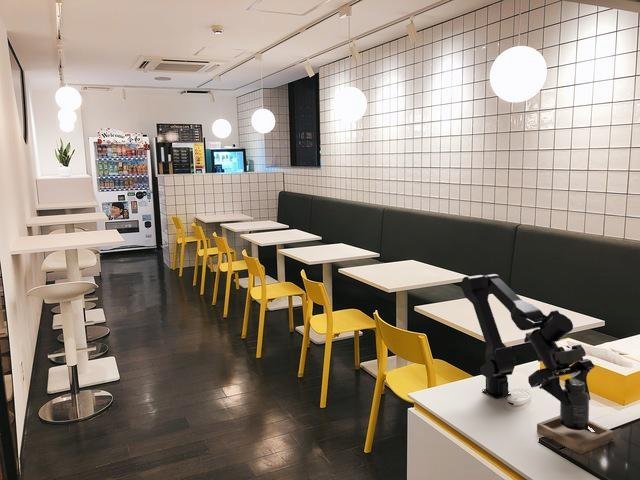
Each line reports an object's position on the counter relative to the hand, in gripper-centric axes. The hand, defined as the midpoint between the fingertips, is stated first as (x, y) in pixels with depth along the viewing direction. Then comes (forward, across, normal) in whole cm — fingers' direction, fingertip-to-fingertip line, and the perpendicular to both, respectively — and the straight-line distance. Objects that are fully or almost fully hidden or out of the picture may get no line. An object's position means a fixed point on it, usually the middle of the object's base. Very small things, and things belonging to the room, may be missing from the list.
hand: (578, 403), depth 133 cm
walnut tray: (+6, 0, +8) cm, 10 cm away
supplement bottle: (+4, 0, +6) cm, 7 cm away
